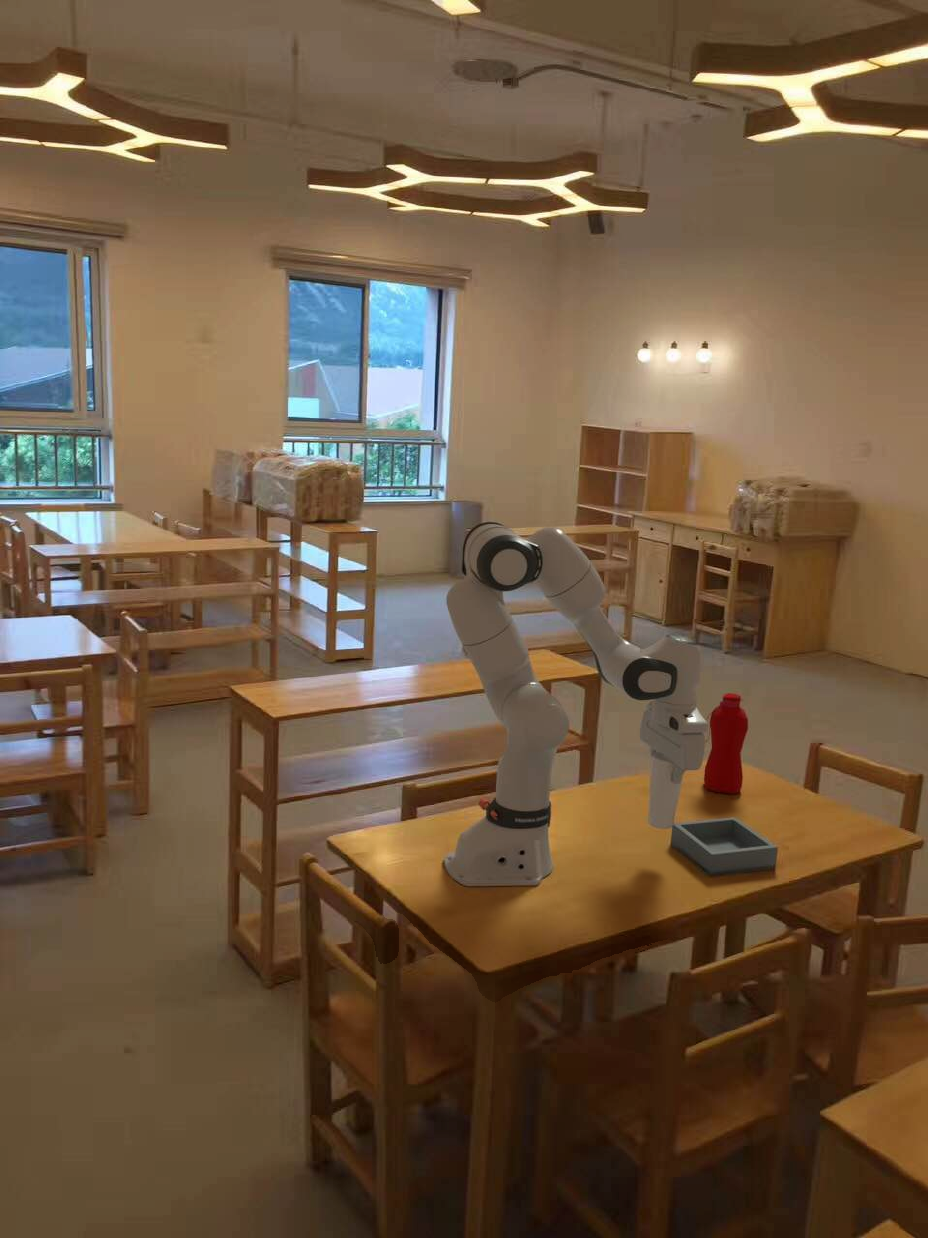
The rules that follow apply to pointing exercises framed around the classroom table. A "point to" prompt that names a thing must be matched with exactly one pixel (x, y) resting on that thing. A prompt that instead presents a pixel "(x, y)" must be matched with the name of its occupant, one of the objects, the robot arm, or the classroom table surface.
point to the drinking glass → (662, 793)
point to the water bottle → (726, 746)
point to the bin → (723, 846)
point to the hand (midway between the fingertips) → (665, 775)
